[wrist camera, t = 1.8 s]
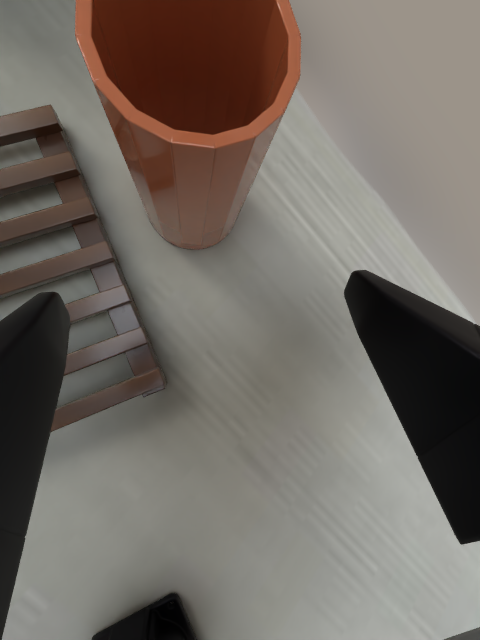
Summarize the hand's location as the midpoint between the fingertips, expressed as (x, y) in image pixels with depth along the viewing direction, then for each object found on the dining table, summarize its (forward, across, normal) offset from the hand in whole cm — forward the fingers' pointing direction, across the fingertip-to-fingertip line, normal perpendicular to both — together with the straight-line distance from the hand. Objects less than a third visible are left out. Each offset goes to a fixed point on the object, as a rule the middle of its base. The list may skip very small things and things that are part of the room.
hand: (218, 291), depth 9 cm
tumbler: (+15, 0, +4) cm, 15 cm away
